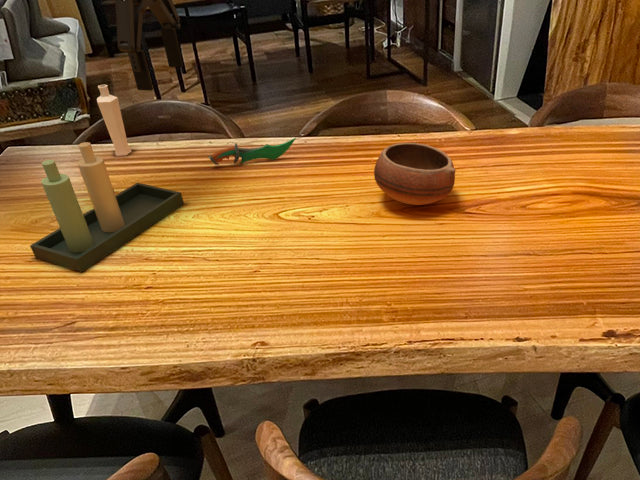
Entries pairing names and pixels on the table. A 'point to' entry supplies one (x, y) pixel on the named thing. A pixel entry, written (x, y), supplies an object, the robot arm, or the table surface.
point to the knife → (251, 152)
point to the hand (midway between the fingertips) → (161, 77)
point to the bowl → (414, 173)
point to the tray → (138, 214)
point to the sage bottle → (66, 208)
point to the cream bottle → (100, 189)
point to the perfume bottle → (113, 120)
